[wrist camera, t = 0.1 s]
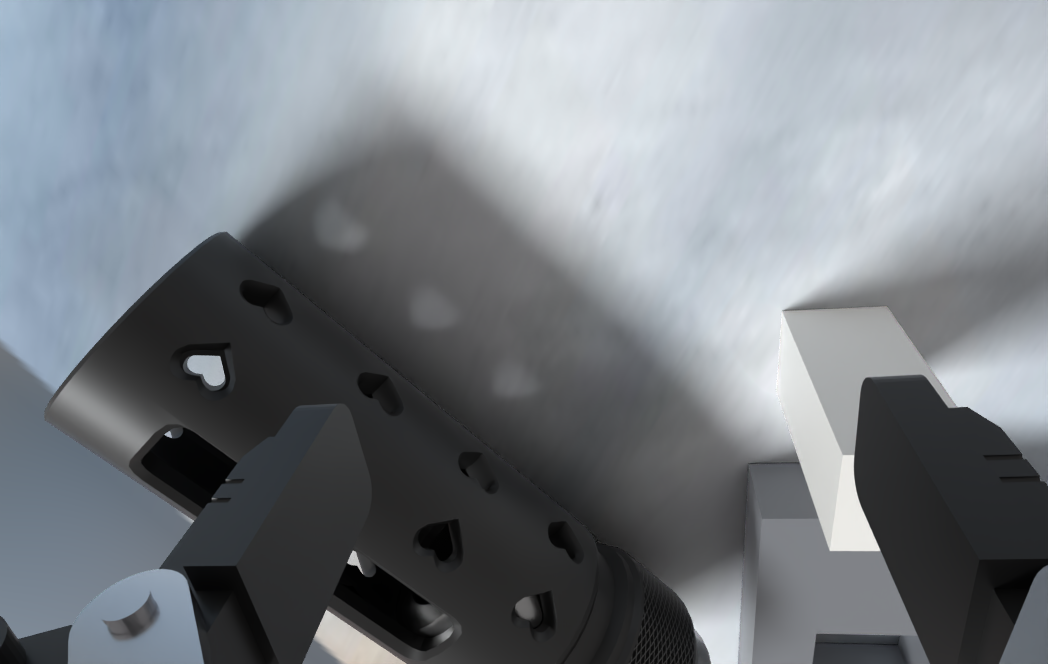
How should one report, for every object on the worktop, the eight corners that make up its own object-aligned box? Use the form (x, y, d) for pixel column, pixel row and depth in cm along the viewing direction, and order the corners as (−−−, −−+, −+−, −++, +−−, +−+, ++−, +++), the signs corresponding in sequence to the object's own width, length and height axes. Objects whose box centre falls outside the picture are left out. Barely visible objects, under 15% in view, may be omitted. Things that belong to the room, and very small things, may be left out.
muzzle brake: (273, 184, 29) (118, 303, 20) (713, 564, 37) (744, 771, 28) (161, 321, 33) (-8, 471, 24) (579, 636, 41) (568, 837, 32)
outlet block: (748, 463, 33) (762, 522, 30) (1007, 459, 31) (1052, 521, 28) (737, 678, 41) (747, 743, 37) (943, 684, 39) (972, 753, 36)
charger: (781, 311, 29) (844, 459, 21) (886, 306, 28) (991, 456, 20) (776, 391, 31) (831, 555, 23) (874, 388, 30) (965, 555, 22)
